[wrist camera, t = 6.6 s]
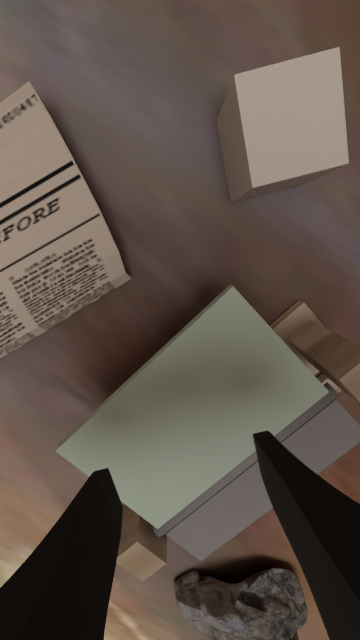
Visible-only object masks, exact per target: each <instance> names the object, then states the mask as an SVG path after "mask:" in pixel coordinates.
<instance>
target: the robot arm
mask: <svg viewBox="0 0 360 640" xmlns="http://www.w3.org/2000/svg"><path fill="white" fill-rule="evenodd" d="M253 439H254V444H255V449H256V453H257V458H258V463H259V468H260V473H261V477H262V479H263V482H264V485H265V488H266V491H267V493H268V496H269V499H270V502H271V504H272V506H273V508H274V510H275V512H276V515H277V517H278V519H279V521H280V523H281V525H282V527H283V529H284V532H285V534H286V536H287V538H288V540H289V542H290V544H291V546H292V548H293V551H294V553H295V555H296V557H297V559H298V561H299V563H300V565H301V568H302V570H303V572H304V575H305V577H306V579H307V581H308V584H309V587H310V589H311V592H312V594H313V597H314V600H315V602H316V605H317V607H318V610H319V612H320V615H321V618H322V620H323V623H324V626H325V628H326V631H327V633H328V636H329V639H330V640H360V504H359V503H357V502H355V501H354V500H352V499H351V498H349V497H348V496H346V495H345V494H343V493H342V492H340V491H339V490H338V489H336V488H335V487H333V486H332V485H331V484H329V483H328V482H327V481H325V480H324V479H323V478H321V477H320V476H319V475H317V474H316V473H315V472H314V471H312V470H311V469H310V468H309V467H307V466H306V465H305V464H304V463H303V462H301V461H300V460H299V459H298V458H297V457H296V456H294V455H293V454H292V453H291V452H290V451H289V450H288V449H287V448H286V447H285V446H284V445H283V444H282V443H280V442H279V441H278V440H277V439H276V438H275V436H274V435H273V434H272V433H271V432H269V431H268V430H267V431H263V432H259V433H254V434H253ZM122 515H123V506H122V503H121V501H120V498H119V495H118V492H117V490H116V487H115V484H114V482H113V479H112V476H111V474H110V471H109V468H105V469H101V470H97V471H94V472H93V473H92V474H91V476H90V477H89V478H88V480H87V481H86V482H85V484H84V485H83V487H82V488H81V490H80V491H79V492H78V494H77V495H76V497H75V498H74V499H73V501H72V502H71V503H70V505H69V506H68V508H67V509H66V510H65V512H64V513H63V514H62V516H61V517H60V518H59V520H58V521H57V522H56V524H55V525H54V526H53V527H52V529H51V530H50V531H49V533H48V534H47V535H46V536H45V538H44V539H43V540H42V541H41V543H40V544H39V545H38V547H37V548H36V549H35V550H34V551H33V553H32V554H31V555H30V556H29V557H28V558H27V560H26V561H25V562H24V563H23V564H22V565H21V566H20V567H19V569H18V570H17V571H16V572H15V573H14V574H13V575H12V576H11V577H10V578H9V580H8V581H7V582H6V583H5V584H4V585H3V586H2V587H1V588H0V640H103V639H104V630H105V623H106V616H107V610H108V604H109V599H110V593H111V588H112V583H113V577H114V572H115V567H116V561H117V556H118V550H119V544H120V539H121V529H122Z"/></svg>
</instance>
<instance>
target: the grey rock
mask: <svg viewBox="0 0 360 640" xmlns="http://www.w3.org/2000/svg"><path fill="white" fill-rule="evenodd" d="M174 586H175V592H176V601H177V602H176V603H177V606H178V608H179V610H180V612H181V614H182V615H183V616H184V617H185V618H186V619H187V620H188V621H189V622H190V623H191V624H192V625H193V626H194V628H195V629H197V630H199V631H200V632H202V633H203V634H205V635H207V636H208V637H210V638H212V639H214V640H299V639H298V636H297V629H299V628H302V627H303V625H304V624H305V623H306V622H307V617H308V609H307V605H306V602H305V598H304V594H303V592H302V587H301V585H300V583H299V580H298V578H297V577H296V576H295V575H294V574H293V573H292V572H291V571H288V570H285V569H282V568H271V569H266V570H263V571H260V572H258V573H256V574H253V575H251V576H250V577H248V578H246V579H245V580H243V581H242V582H240V583H238V584H229V583H225V582H222V581H220V580H217V579H215V578H212V577H209V576H200V575H199V573H198V572H197V571H196V570H192V571H190V572H189V573H186V574H185V575H183V576H182V577H181V578H180V579H178V580H177V581H176V582H175V583H174Z"/></svg>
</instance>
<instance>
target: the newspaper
mask: <svg viewBox="0 0 360 640" xmlns="http://www.w3.org/2000/svg"><path fill="white" fill-rule="evenodd" d="M130 279H132V275H128V274H127V273H126V272H125V269H124V266H123V263H122V260H121V257H120V253H119V250H118V248H117V246H116V244H115V242H114V240H113V237H112V235H111V233H110V231H109V229H108V226H107V224H106V222H105V220H104V218H103V216H102V213H101V211H100V209H99V207H98V205H97V203H96V201H95V199H94V197H93V195H92V193H91V191H90V189H89V187H88V186H87V184H86V182H85V180H84V178H83V176H82V174H81V172H80V170H79V168H78V166H77V164H76V162H75V161H74V159H73V157H72V155H71V153H70V151H69V149H68V147H67V146H66V144H65V142H64V140H63V138H62V136H61V135H60V133H59V131H58V129H57V127H56V125H55V124H54V122H53V120H52V118H51V116H50V115H49V113H48V111H47V110H46V108H45V106H44V105H43V103H42V101H41V99H40V98H39V96H38V94H37V93H36V91H35V89H34V88H33V86H32V85H31V83H30V81H29V82H27V83H26V84H25V85H23V86H22V87H20V88H19V89H18V90H16V91H15V92H14V93H12V94H11V95H10V96H8V97H7V98H6V99H4V100H3V101H2V102H0V359H1V358H3V357H4V356H6V355H7V354H9V353H11V352H12V351H14V350H16V349H17V348H19V347H21V346H22V345H24V344H26V343H27V342H29V341H30V340H32V339H34V338H35V337H37V336H39V335H40V334H42V333H44V332H45V331H47V330H48V329H50V328H52V327H53V326H55V325H57V324H58V323H60V322H62V321H63V320H65V319H66V318H68V317H70V316H71V315H73V314H75V313H76V312H78V311H80V310H81V309H83V308H84V307H86V306H88V305H89V304H91V303H93V302H94V301H96V300H98V299H99V298H101V297H102V296H104V295H106V294H107V293H109V292H111V291H112V290H114V289H116V288H117V287H119V286H121V285H122V284H124V283H125V282H127V281H129V280H130Z"/></svg>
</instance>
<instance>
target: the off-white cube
mask: <svg viewBox="0 0 360 640" xmlns="http://www.w3.org/2000/svg"><path fill="white" fill-rule="evenodd" d="M216 124H217V129H218V135H219V140H220V146H221V151H222V157H223V162H224V167H225V173H226V178H227V184H228V189H229V195H230V200H231V203H233V202H237V201H241V200H245V199H249V198H253V197H257V196H260V195H264V194H268V193H272V192H276V191H280V190H284V189H288V188H292V187H296V186H300V185H303V184H305V183H308V182H310V181H312V180H314V179H316V178H318V177H321V176H323V175H325V174H327V173H329V172H331V171H334V170H336V169H338V168H340V167H342V166H344V165H347V164H349V159H348V147H347V134H346V122H345V109H344V97H343V85H342V72H341V60H340V47H337V48H334V49H330V50H326V51H322V52H318V53H315V54H311V55H307V56H303V57H299V58H296V59H292V60H288V61H284V62H281V63H277V64H273V65H269V66H265V67H262V68H258V69H254V70H250V71H247V72H243V73H239V74H235V75H234V76H233V79H232V81H231V84H230V87H229V89H228V92H227V94H226V97H225V100H224V102H223V105H222V108H221V110H220V113H219V115H218V118H217V121H216Z"/></svg>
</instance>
